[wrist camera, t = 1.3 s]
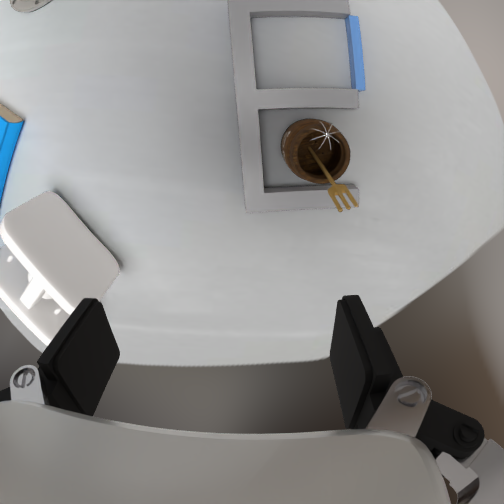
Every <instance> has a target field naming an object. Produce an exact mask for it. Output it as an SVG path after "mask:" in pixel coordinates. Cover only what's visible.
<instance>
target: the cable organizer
mask: <svg viewBox="0 0 504 504" xmlns="http://www.w3.org/2000/svg"><path fill="white" fill-rule="evenodd" d="M0 234H1V237H2V239H3V241H4V243H5V245H3V246H2V247H1V248H0V298H1V299H2V300H3V301H4V302H5V303H6V304H7V306H8V307H9V308H10V309H11V310H12V311H13V312H14V313H15V314H16V316H17V317H18V318H19V319H20V320H21V321H22V322H23V323H24V324H25V325H26V326H27V327H28V328H29V329H30V330H31V331H32V332H33V333H34V334H35V335H36V336H37V337H38V338H39V339H40V340H41V341H42V342H43V343H44V344H45V345H47V346H48V345H49V344H50V342H51V341H52V339H53V338H54V337H55V335H56V334H57V332H58V331H59V330H60V328H61V327H62V326H63V324H64V323H65V322H66V320H67V319H68V318H69V316H70V315H71V314H72V312H73V311H74V310H75V308H76V307H77V306H78V304H79V303H80V302H81V301H82V299H84V298H96V299H98V301H99V302H100V300H101V299H102V297H103V296H104V294H105V293H106V291H107V290H108V289H109V287H110V286H111V284H112V283H113V282H114V280H115V279H116V277H117V276H118V275H119V272H120V269H119V265H118V263H117V261H116V259H115V258H114V257H113V255H112V254H111V253H110V251H109V250H108V249H107V248H106V247H105V246H104V245H103V244H102V243H101V242H100V241H99V240H98V239H97V238H96V237H95V236H94V235H93V234H92V233H91V231H90V230H89V229H88V228H87V227H86V226H85V225H84V224H83V222H82V221H81V220H80V219H79V218H78V216H77V215H76V214H75V213H74V211H73V210H72V209H71V208H70V207H69V206H68V204H67V203H66V202H65V201H64V200H63V199H62V198H61V197H60V196H59V195H57V194H56V193H54V192H51V191H46V192H44V193H42V194H40V195H38V196H36V197H34V198H33V199H31V200H29V201H27V202H25V203H24V204H22V205H20V206H18V207H17V208H15V209H13V210H11V211H10V212H8V213H7V214H5V216H4V218H3V220H2V222H1V224H0Z"/></svg>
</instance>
